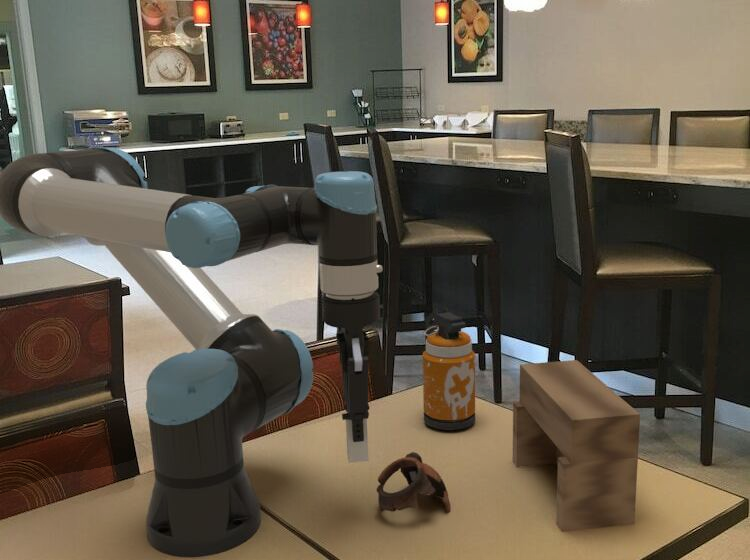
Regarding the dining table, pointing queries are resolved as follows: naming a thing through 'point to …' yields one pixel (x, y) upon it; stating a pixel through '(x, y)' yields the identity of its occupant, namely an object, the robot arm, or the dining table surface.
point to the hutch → (579, 442)
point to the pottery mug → (411, 484)
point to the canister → (448, 373)
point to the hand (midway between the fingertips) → (358, 459)
